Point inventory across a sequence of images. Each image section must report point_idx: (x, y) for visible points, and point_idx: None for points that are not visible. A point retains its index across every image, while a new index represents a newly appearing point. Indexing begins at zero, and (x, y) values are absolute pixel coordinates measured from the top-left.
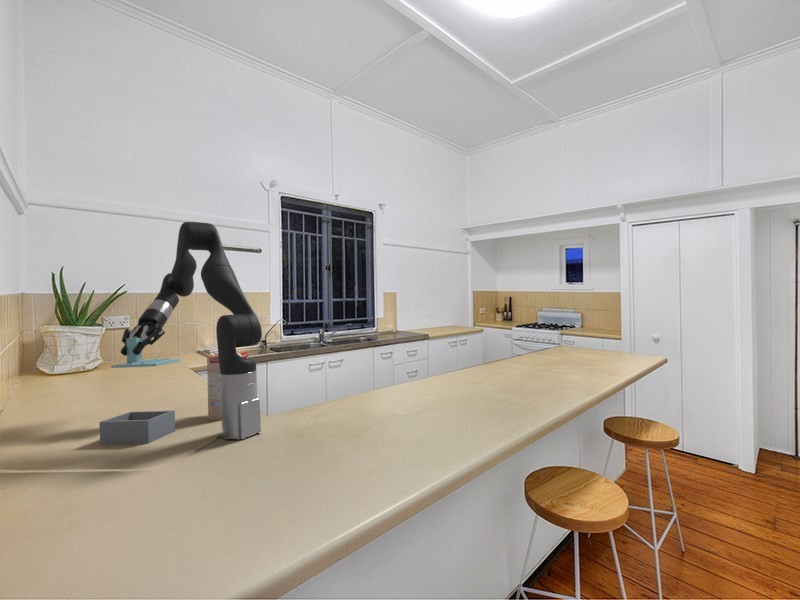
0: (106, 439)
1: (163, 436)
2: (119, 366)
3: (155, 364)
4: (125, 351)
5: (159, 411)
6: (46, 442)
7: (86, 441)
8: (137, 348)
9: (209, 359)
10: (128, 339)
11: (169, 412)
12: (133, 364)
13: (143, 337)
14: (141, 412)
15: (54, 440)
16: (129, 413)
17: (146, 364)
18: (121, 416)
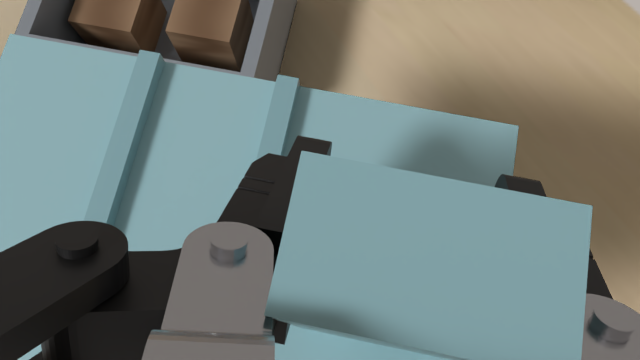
0: None
1: None
2: (416, 112)
3: (20, 40)
4: None
5: (85, 45)
6: (592, 109)
7: (406, 78)
8: (276, 177)
9: None
10: (516, 197)
11: (23, 12)
12: (260, 85)
13: (197, 311)
14: (180, 61)
15: (579, 129)
16: (242, 68)
17: (112, 52)
18: (254, 24)
